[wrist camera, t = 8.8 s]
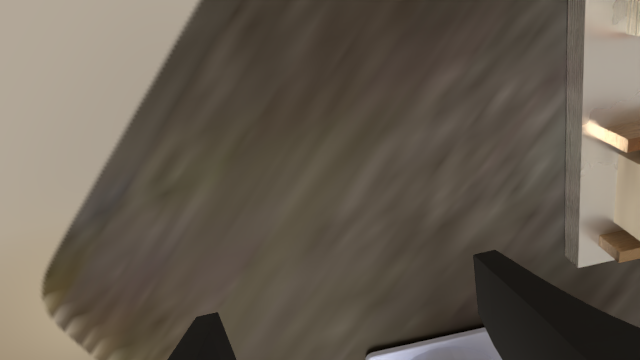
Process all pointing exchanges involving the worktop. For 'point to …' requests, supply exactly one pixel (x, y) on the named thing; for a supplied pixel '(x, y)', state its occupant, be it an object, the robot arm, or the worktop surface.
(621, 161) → the block
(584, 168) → the beige piece
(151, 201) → the worktop surface
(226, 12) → the worktop surface
